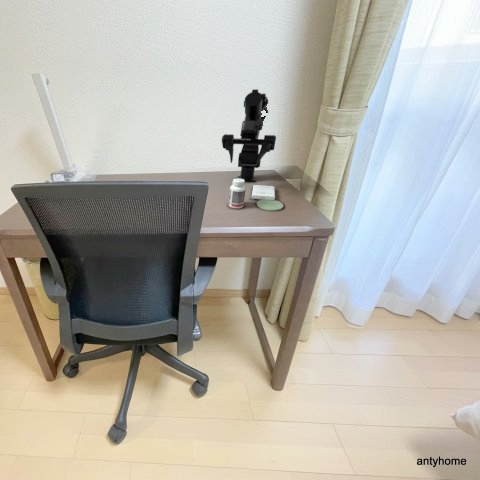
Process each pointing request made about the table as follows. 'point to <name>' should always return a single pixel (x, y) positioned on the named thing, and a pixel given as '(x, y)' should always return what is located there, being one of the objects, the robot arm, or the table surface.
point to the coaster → (270, 205)
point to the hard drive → (263, 192)
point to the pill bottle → (237, 193)
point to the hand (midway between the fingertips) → (243, 163)
